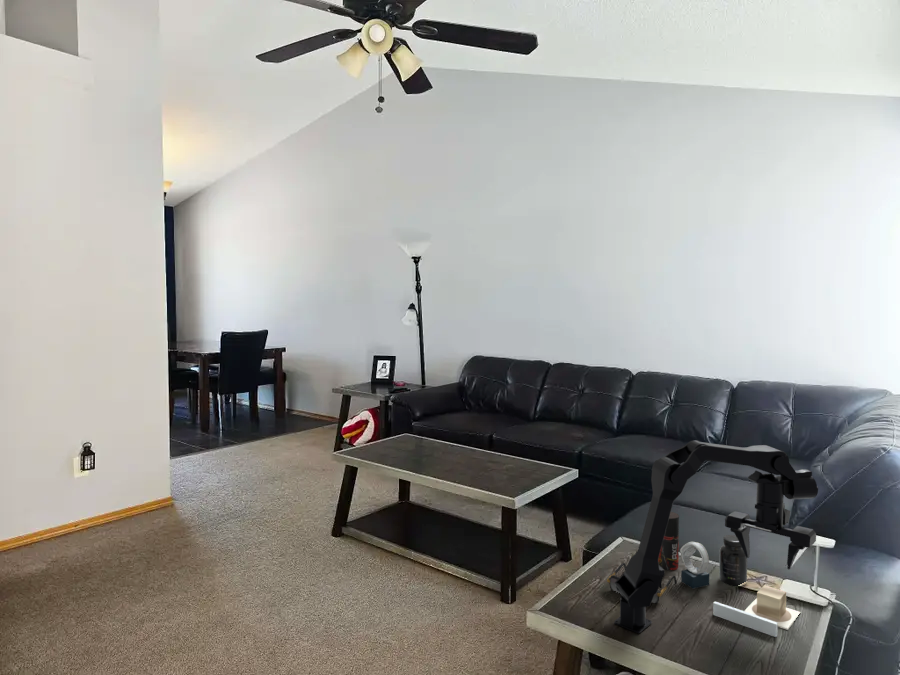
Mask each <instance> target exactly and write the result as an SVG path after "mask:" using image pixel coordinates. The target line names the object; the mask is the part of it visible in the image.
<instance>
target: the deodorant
mask: <svg viewBox="0 0 900 675" xmlns="http://www.w3.org/2000/svg"><path fill="white" fill-rule="evenodd" d="M679 538H680V515H679V514H678V513H676V512H674V511H671V513H670V517H669V521H668V524H667V528H666V532H665V536H664V539H663V543H662V547H661V551H660V554H659V558H658V563H659V566H660V567H661V568H662V569H664V570H665V571H676V570H678V569H679V566H680V565H679V560H680V559H679V554H680V549H679V548H680V547H679V546H680V545H679V544H680V539H679Z"/></svg>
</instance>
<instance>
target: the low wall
mask: <svg viewBox="0 0 900 675" xmlns="http://www.w3.org/2000/svg"><path fill="white" fill-rule="evenodd" d="M712 607H713V608H712V615H713V616H715V617H717V618H718V617H719V618H722V619H724V620H727V621H729V622H732V623H735V624H737V625H741V626H743V627H746V628H749V629H752V630H755V631H757V632H760V633H762V634H766V635H768V636H771V637H775V638H777V637H778V628H779V627H778V623H777V622H774V621H771V620H768V619H765V618H762V617H759V616H757V615H754V614H751V613H748V612H745V610H742V609H739V608H735V607H734V606H731V605H727V604H723V603H721V602H718V601H713V602H712Z"/></svg>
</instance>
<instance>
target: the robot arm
mask: <svg viewBox="0 0 900 675" xmlns="http://www.w3.org/2000/svg"><path fill="white" fill-rule="evenodd" d="M706 461H707V462H708V461H709V462H716V463H724V464H731V465H732V464H733V465H740V466H748V467H752V468H754V469H757V470H755V471H754V472H753V473H752V474H750V475H749V476H748V477H747V479H748V480H749V481H751V482H754V483H756V502H755V503H754V509H755V519H751V518H750V515H749V514H748V513H744V512H740V511H737V510H734V511H732V512H731V513H730V514H728V515H726V516H725V518H724V526H725V527H726V528H728V529H729V532H732V533H733V534H734V536H736V537H737V539H738V540H739V542H740V544H741V547H742V549H743V551H744V553H745V556H746V558H747V559H749V558H750V555H751V554H750V553H751V549H750V548H751V546H750V542H751V541H750V531H751V529H755V530H759V531H763V532H767V533H771V534H775V535H779V536H784V537H787V538H789V541H790V542H789V544H788V549H787V560H786V561H787V562H786V565H787V568H786V569H787V570H789V571H790V570H791V569H792V566H793V564H794V562H795V559H796V557H797V555H798V553H799V551H800V550H802V551H803V550H804V549H806V548H811V547H812V546H813V545H814V544H815V543H816V542H817V534H816V531H815V530H814V529H813V528H808V527H804V526H800V525H796V526H795V527H794V528H793V529H791V528H789V527H784V526H786V525H787V524H789V523H790V517H791V510H789V509H786V508H785V506H786V505H785V503H784V497H785V498H786V499H788V500H805V499H809V500H810V499H814V498H816V497H817V496H818V493H819V486H818V484H817V481H816V479H815V477H813V471H811V470H810V469H807V468H806V469H805V468H804V469H799V470H795V468H794V467H793V466H792V464H791V463H790V459H789V456H788V455H787V453H786V452H785V451H783V450H779V449H777V448H774V447H772V446H769V445H766V444H763V445H762V444H760V445H750V446H748V447H745V446H744V447H743V446H742V447H741V446H740V447H739V446H733V445H725V444H718V443H710V442H702V441H700V440H694V439H693V440H690V441H689V442H686V444H685V445H684V446H682V447H679V448H677V449H675V450H672V451H670V452H669V453H668V454H666V455H665V456H663V457H659V459H656V460H655V461H654V462H653V464H652V469H651V476H650V477H651V480H650V481H651V488H652V497H651V499H650V500H651V501H650V504H649V508H648V511H647V516H646V520H645V523H644V527H643V529H642V535H641V538H640V542H639V545H638V549H637V551H636V552H635V554H632V555H633V556H632V557H630V559H629V561H628V562H627V564H626V566H627V567H626V569H625V568H624V571H623V573H622V574H621V576H619V577H620V578H619V579H618V580H617V581H616V582H615V586H616V589H617V591H619V593H620V597H619V598H620V599H619V600H620V601H619V604H620V605H619V609H620V610H619V616H618V618H616V619H615V620H614V621H613V623H614V624H615V625H616V626H620V628H621V627H622V628H624V629H627V630H629V631H631V632H634V633H636V634H641V633H642V632H643V631H645V629H646V628H648V627H649V626H650V625H651V624H652V620H650V619H648V618H646V617H647V616H646V615H647V614H646V609H647V607H649V608H650V607H651V604H652V599H653V596H654V595H655V594H656V593H657V591H658V590H660V589H663V588H662V586H663V585H662V582H663V579H664V577H665V574H666V573H665V572H666V570H664V569H662V568H661V567H660V566H659V563H658V558H659V554H660V551H661V547H662V543H663V539H664V536H665V532H666V528H667V524H668V521H669V517H670V513H671V512H672V510H673V509H672V508H673V505H674V502H675V500H676V499H677V498H678V497H679V496H680V495H681V494H682V493H683V492H684V489H685V487H686V485H687V482H688V480H689V479H690V478H692V477H693V476H694V475H695V474H697V472H698V470H699V469H700V468H701V465H702V464H703V463H704V462H706ZM758 470H760V471H763V472H766V473H763V472H760V471H758ZM659 588H660V589H659ZM619 593H618V594H619Z"/></svg>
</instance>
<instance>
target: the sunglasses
mask: <svg viewBox="0 0 900 675" xmlns="http://www.w3.org/2000/svg"><path fill="white" fill-rule="evenodd" d="M622 567H624V570H625V569H626V567H627V564H626V563H625V562H623V563H621V565H619V566H618V567H617V568H616V569H615V570H614V571H613V572H611V574H610V575H609V576H608V578H607V579H606V582H607V583H608V584H609V588H610V590H613V591H612V592H614V591H616V592H615V593H617V592H618V593H617V594H619V591H617V589H616V586H615V582H616V581H617V580H618V579H619V578H620V577H621V576H617V573H618V572H619V571H620V570H621V569H622ZM673 580H674V586H676V585H677V584H678V583H677V582H678V581H677V578H676V576H675V575H673V576H671V578H670V579H669V580H668V581H667V582H666V584H665V586H663V588H661V590H660V589H658V591H657V593H656V594H655V595H654V596H653V599H652V602H651V604H652V603H654V604H656V605H657V604H658V603H659V601H660V598H661V597H662V596H663V594H664V593H665V591H666V590H667V589H668V587H669V586H670V585H671V583H672V581H673Z"/></svg>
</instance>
